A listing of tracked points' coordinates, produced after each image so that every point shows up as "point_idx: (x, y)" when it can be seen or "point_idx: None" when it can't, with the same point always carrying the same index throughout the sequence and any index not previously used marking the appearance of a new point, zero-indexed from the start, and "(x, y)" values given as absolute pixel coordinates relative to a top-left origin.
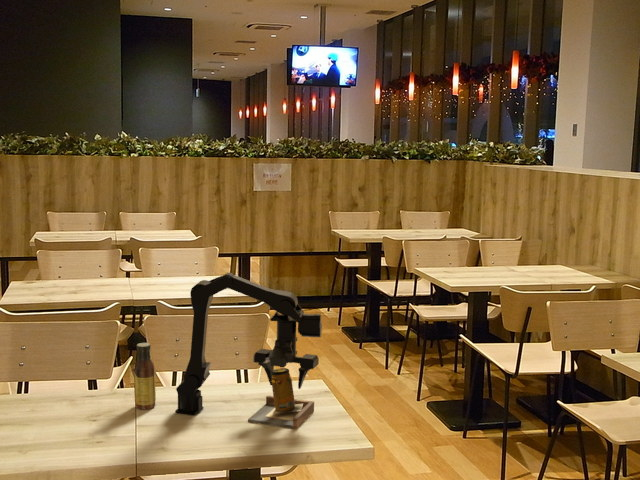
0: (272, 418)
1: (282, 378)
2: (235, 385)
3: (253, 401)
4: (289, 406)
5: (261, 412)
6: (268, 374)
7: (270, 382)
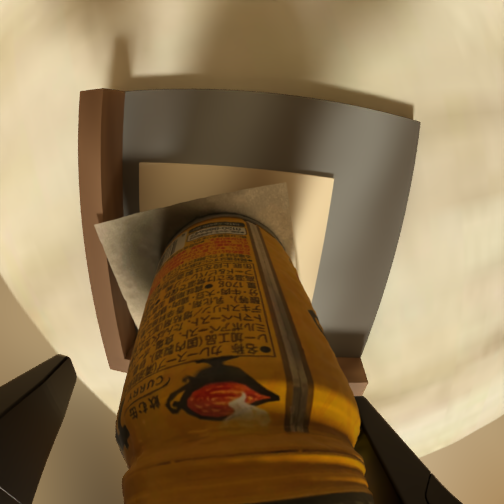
0: (281, 161)
1: (174, 450)
2: (448, 439)
3: (410, 374)
4: (170, 245)
5: (369, 243)
6: (415, 483)
7: (368, 414)
